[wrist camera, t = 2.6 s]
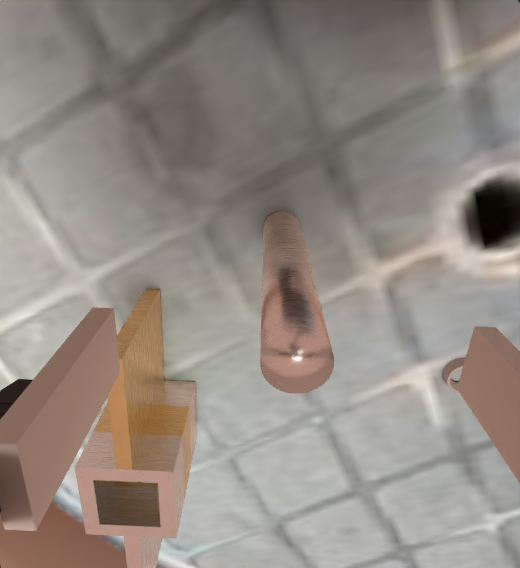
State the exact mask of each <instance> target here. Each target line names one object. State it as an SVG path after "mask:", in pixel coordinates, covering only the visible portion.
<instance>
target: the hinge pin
mask: <svg viewBox="0 0 520 568" xmlns="http://www.w3.org/2000/svg"><path fill="white" fill-rule="evenodd" d="M260 364H261V371H262V374H263V375H264V377H265V379H266V380H267V381H268V382H269V383H270V384H271V385H272V386H273V387H275V388H277V389H279V390H281V391H284V392H288V393H305V392H309V391H312V390H314V389H316V388H318V387H320V386H321V385H322V384H324V383H325V382H326V381H327V380H328V378H329V377H330V375H331V373H332V371H333V367H334V356H333V352H332V348H331V344H330V341H329V337H328V333H327V329H326V325H325V321H324V317H323V313H322V309H321V306H320V302H319V298H318V294H317V290H316V286H315V282H314V278H313V275H312V271H311V267H310V263H309V259H308V255H307V251H306V247H305V243H304V240H303V236H302V232H301V228H300V224H299V221H298V219H297V218H296V217H295V216H294V215H293V214H291V213H289V212H286V211H278V212H275V213H273V214H271V215H270V216H269V217H268V218H267V219H266V221H265V223H264V228H263V270H262V315H261V360H260Z"/></svg>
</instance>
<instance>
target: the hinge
mask: <svg viewBox="0 0 520 568" xmlns="http://www.w3.org/2000/svg"><path fill="white" fill-rule="evenodd" d="M117 345H118V355H119V366H120V373H119V375H118V377H117V379H116V381H115V383H114V385H113V387H112V388H111V390H110V392H109V394H108V404H107V406H106V408H105V410H104V412H103V414H102V416H101V417H100V419H99V421H98V423H97V425H96V427H95V429H94V431H93V433H92V435H91V437H90V439H89V441H88V443H87V445H86V447H85V449H84V450H83V452H82V454H81V456H80V458H79V460H78V462H77V464H76V466H75V471H76V477H77V483H78V489H79V495H80V501H81V507H82V513H83V519H84V525H85V530H86V534H95V535H117V536H124V543H125V551H126V560H127V568H156V563H157V559H158V555H159V551H160V546H161V542H162V538H176V537H177V532H178V527H179V522H180V518H181V513H182V508H183V503H184V498H185V493H186V488H187V483H188V478H189V473H190V468H191V464H192V459H193V454H194V449H195V444H196V382H191V381H171V380H165V379H164V359H163V338H162V317H161V297H160V289H146V290H145V292H144V293H143V295H142V297H141V298H140V300H139V301H138V303H137V305H136V306H135V308H134V310H133V311H132V313H131V314H130V316H129V318H128V319H127V321H126V322H125V324H124V326H123V327H122V329H121V330H120V332H119V334H118V335H117Z"/></svg>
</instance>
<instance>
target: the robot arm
mask: <svg viewBox="0 0 520 568" xmlns="http://www.w3.org/2000/svg"><path fill="white" fill-rule="evenodd" d="M518 1H519V2H520V0H518ZM119 373H120V366H119V355H118V345H117V334H116V324H115V313H114V309H112V308H92V309H91V310H90V312H89V313H88V314H87V315H86V316H85V318H84V319H83V320H82V321H81V322H80V324H79V325H78V326H77V327H76V329H75V330H74V331H73V332H72V333H71V335H70V336H69V337H68V338H67V339H66V341H65V342H64V343H63V344H62V345H61V347H60V348H59V349H58V350H57V352H56V353H55V354H54V355H53V356H52V358H51V359H50V360H49V361H48V362H47V364H46V365H45V366H44V367H43V368H42V370H41V371H40V372H39V373H38V375H37V376H36V377H35V378H34V379H33V380H26V379H18V380H16V381H15V382H13V383H12V384H10V385H8V386H7V387H5V388H4V389H2V390H1V391H0V514H1V518H2V522H3V525H4V529H7V530H29V531H36V530H37V528H38V526H39V524H40V522H41V520H42V518H43V517H44V515H45V513H46V511H47V509H48V507H49V505H50V503H51V502H52V500H53V498H54V496H55V494H56V492H57V490H58V488H59V486H60V485H61V483H62V481H63V479H64V477H65V475H66V473H67V471H68V470H69V468H70V466H71V464H72V462H73V460H74V458H75V456H76V454H77V453H78V451H79V449H80V447H81V445H82V443H83V441H84V439H85V437H86V436H87V434H88V432H89V430H90V428H91V426H92V424H93V422H94V421H95V419H96V417H97V415H98V413H99V411H100V409H101V407H102V405H103V404H104V402H105V400H106V398H107V396H108V394H109V392H110V390H111V388H112V387H113V385H114V383H115V381H116V379H117V377H118V375H119ZM457 389H458V391H459V392H460V394H461V395H462V397H463V398H464V400H465V401H466V403H467V404H468V406H469V407H470V409H471V410H472V412H473V413H474V415H475V416H476V418H477V419H478V421H479V422H480V424H481V425H482V427H483V428H484V430H485V431H486V433H487V434H488V436H489V437H490V439H491V440H492V442H493V443H494V445H495V446H496V448H497V449H498V451H499V452H500V454H501V455H502V457H503V458H504V460H505V461H506V463H507V465H508V466H509V468H510V469H511V471H512V472H513V474H514V475H515V477H516V478H517V480H518V481H519V483H520V351H519V350H518V349H517V348H516V347H515V346H514V345H513V344H512V343H511V342H510V341H509V340H508V339H507V338H506V337H505V336H504V335H503V334H502V333H501V332H500V331H499V330H498V329H497V328H495V327H474V331H473V334H472V338H471V341H470V345H469V348H468V352H467V355H466V359H465V363H464V366H463V370H462V373H461V377H460V380H459V384H458V387H457ZM0 568H1V566H0Z"/></svg>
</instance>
